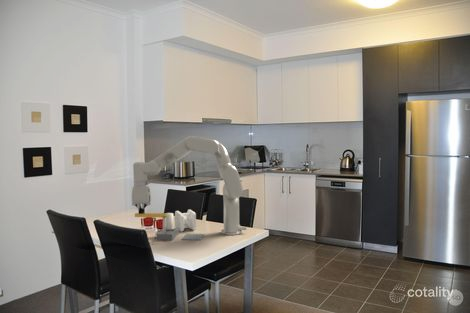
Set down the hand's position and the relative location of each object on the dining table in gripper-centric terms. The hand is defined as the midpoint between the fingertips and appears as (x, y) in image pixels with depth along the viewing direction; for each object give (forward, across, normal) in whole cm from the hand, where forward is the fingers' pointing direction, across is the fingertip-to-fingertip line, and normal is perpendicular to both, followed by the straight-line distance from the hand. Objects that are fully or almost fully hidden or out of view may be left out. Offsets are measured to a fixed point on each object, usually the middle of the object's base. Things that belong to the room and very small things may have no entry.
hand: (141, 215), depth 218 cm
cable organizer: (+14, -20, -23) cm, 33 cm away
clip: (0, -6, +2) cm, 7 cm away
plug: (+14, -14, -8) cm, 21 cm away
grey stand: (+14, -14, -5) cm, 20 cm away
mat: (+14, -29, -5) cm, 32 cm away
